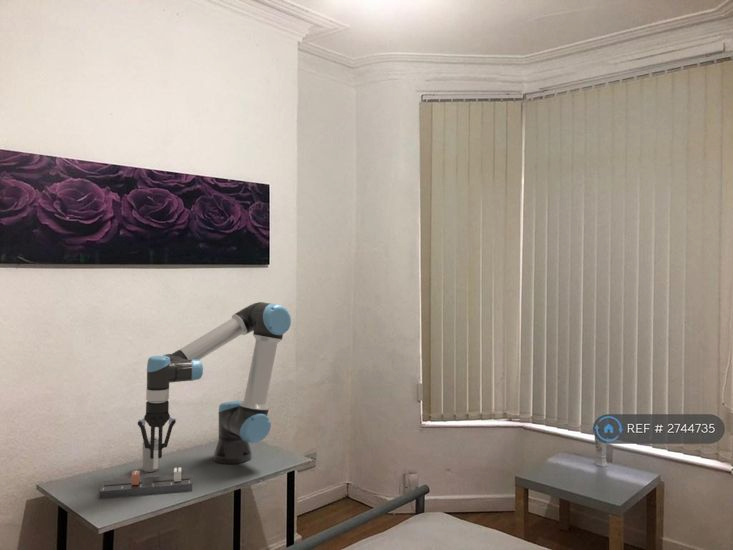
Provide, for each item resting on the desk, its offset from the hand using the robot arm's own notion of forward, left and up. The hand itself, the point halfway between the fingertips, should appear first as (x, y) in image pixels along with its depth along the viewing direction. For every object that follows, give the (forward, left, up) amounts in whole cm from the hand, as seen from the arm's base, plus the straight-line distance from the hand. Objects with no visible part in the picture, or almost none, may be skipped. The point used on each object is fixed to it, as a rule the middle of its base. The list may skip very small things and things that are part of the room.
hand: (155, 467), depth 212 cm
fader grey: (-7, 0, -5) cm, 9 cm away
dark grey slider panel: (+3, 0, -8) cm, 8 cm away
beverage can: (+3, -20, -8) cm, 22 cm away
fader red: (+7, 0, -5) cm, 8 cm away
